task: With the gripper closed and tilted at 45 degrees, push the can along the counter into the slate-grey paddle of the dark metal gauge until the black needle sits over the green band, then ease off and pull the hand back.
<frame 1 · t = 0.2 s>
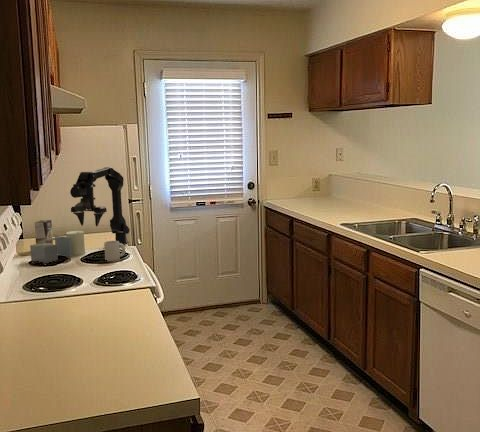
hand: (89, 225, 282), 15 cm above the worktop, tool pointing down, fingers open, 9 cm apart
gauge housing: (54, 258, 274), on the worktop
cup: (115, 260, 268), on the worktop
coffee box: (45, 250, 297), on the worktop
can: (76, 254, 285), on the worktop
gauge paddle: (55, 247, 274), point 5 cm above the worktop, slide at 0.0 cm
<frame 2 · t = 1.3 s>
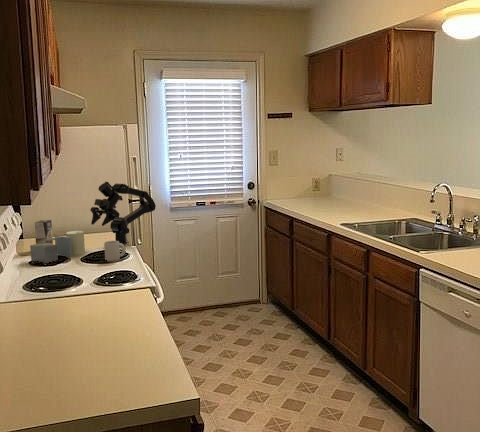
hand: (97, 224, 294), 13 cm above the worktop, tool tilted 45°, fingers open, 8 cm apart
nothing on the worktop moved.
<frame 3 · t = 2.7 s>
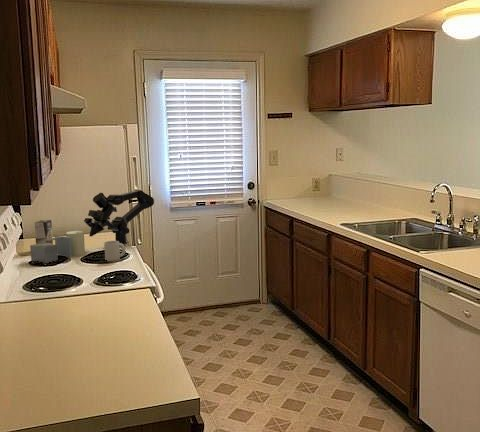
hand: (90, 236, 291), 8 cm above the worktop, tool tilted 45°, fingers closed
nothing on the worktop moved.
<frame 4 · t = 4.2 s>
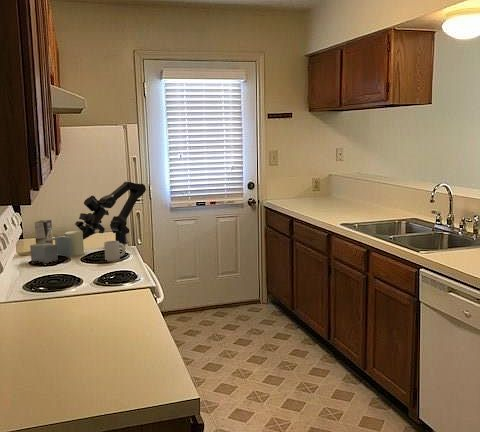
hand: (81, 239, 287), 7 cm above the worktop, tool tilted 45°, fingers closed, pressing on can
can: (75, 254, 284), on the worktop, touching gripper
everything else where it was.
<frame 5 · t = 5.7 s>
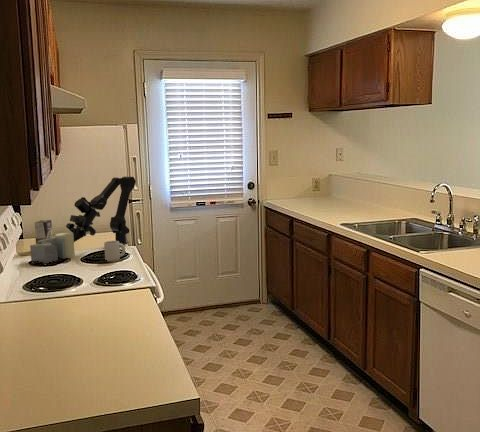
hand: (72, 242, 282), 7 cm above the worktop, tool tilted 45°, fingers closed, pressing on can
can: (65, 256, 279), on the worktop, touching gauge paddle, gripper
gauge paddle: (48, 249, 271), point 5 cm above the worktop, slide at 4.0 cm, touching can
everything else where it was.
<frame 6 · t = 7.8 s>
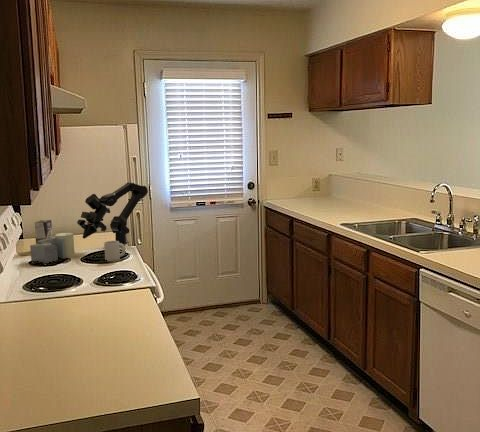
hand: (83, 238, 288), 8 cm above the worktop, tool tilted 45°, fingers closed
can: (65, 256, 279), on the worktop
gauge paddle: (48, 249, 271), point 5 cm above the worktop, slide at 4.0 cm
everything else where it was.
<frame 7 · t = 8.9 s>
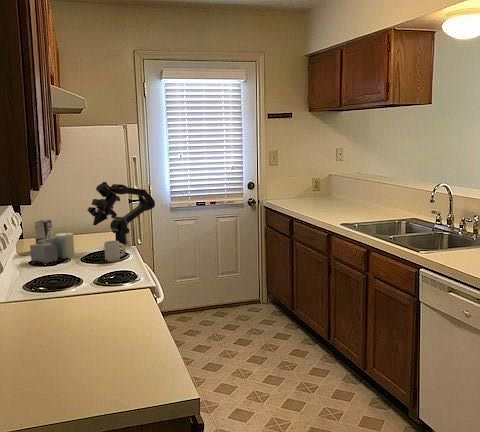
hand: (93, 224, 293), 14 cm above the worktop, tool tilted 45°, fingers closed
nothing on the worktop moved.
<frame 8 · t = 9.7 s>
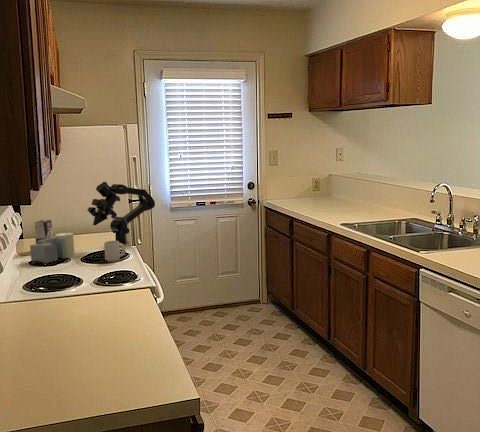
hand: (93, 224, 293), 14 cm above the worktop, tool tilted 45°, fingers closed
nothing on the worktop moved.
at the end: gauge paddle slide at 4.0 cm; can tilted 0°; can moved 6.6 cm from its start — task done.
